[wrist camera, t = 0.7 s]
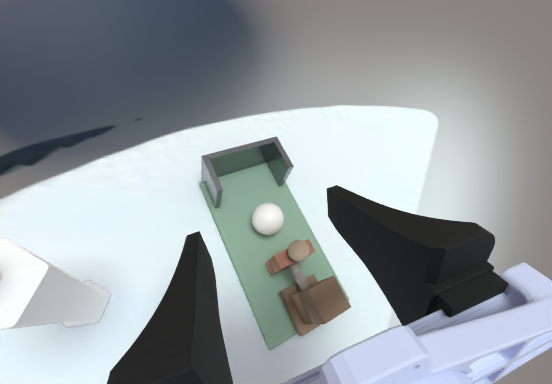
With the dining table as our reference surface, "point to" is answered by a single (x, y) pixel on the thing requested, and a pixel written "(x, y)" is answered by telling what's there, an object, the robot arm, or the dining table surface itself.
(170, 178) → the dining table surface
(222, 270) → the dining table surface
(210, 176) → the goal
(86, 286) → the perfume bottle
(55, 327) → the dining table surface
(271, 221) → the ball
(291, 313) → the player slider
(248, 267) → the pitch mat
